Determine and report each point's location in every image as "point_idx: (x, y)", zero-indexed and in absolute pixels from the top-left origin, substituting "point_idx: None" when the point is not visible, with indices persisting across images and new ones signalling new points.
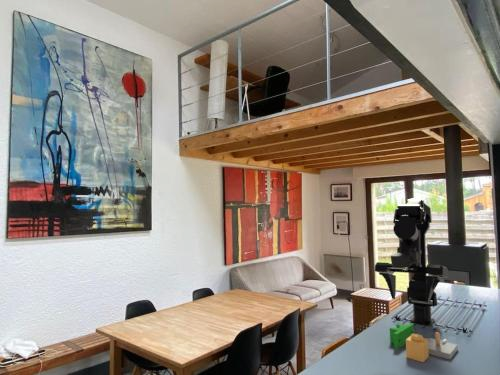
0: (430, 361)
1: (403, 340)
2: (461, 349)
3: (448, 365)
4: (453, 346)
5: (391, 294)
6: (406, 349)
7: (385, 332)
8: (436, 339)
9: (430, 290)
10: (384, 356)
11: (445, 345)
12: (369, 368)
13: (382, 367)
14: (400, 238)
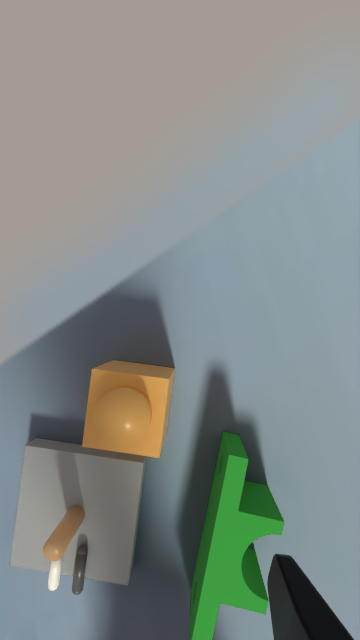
0: None
1: (212, 496)
2: None
3: (36, 384)
4: (21, 535)
5: (312, 595)
6: (171, 372)
7: None
8: (69, 522)
9: None
10: (249, 330)
11: (49, 529)
12: (267, 199)
13: (229, 234)
14: None
